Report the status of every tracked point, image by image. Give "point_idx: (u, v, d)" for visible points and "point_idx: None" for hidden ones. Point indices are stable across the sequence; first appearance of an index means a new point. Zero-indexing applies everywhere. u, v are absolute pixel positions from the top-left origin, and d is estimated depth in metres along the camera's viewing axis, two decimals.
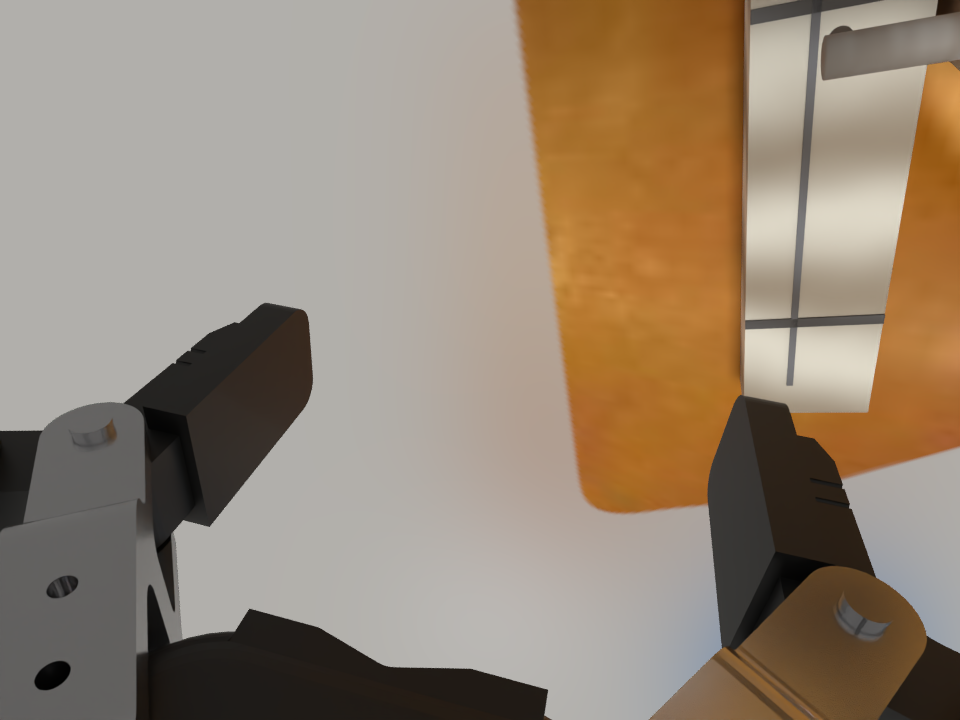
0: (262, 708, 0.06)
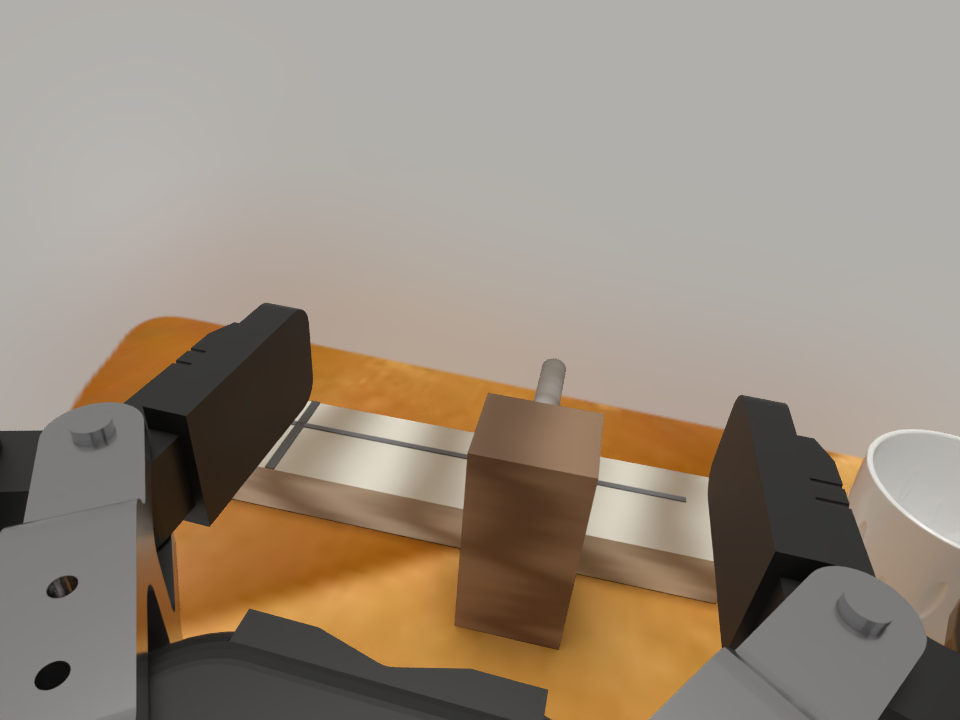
0: (262, 708, 0.06)
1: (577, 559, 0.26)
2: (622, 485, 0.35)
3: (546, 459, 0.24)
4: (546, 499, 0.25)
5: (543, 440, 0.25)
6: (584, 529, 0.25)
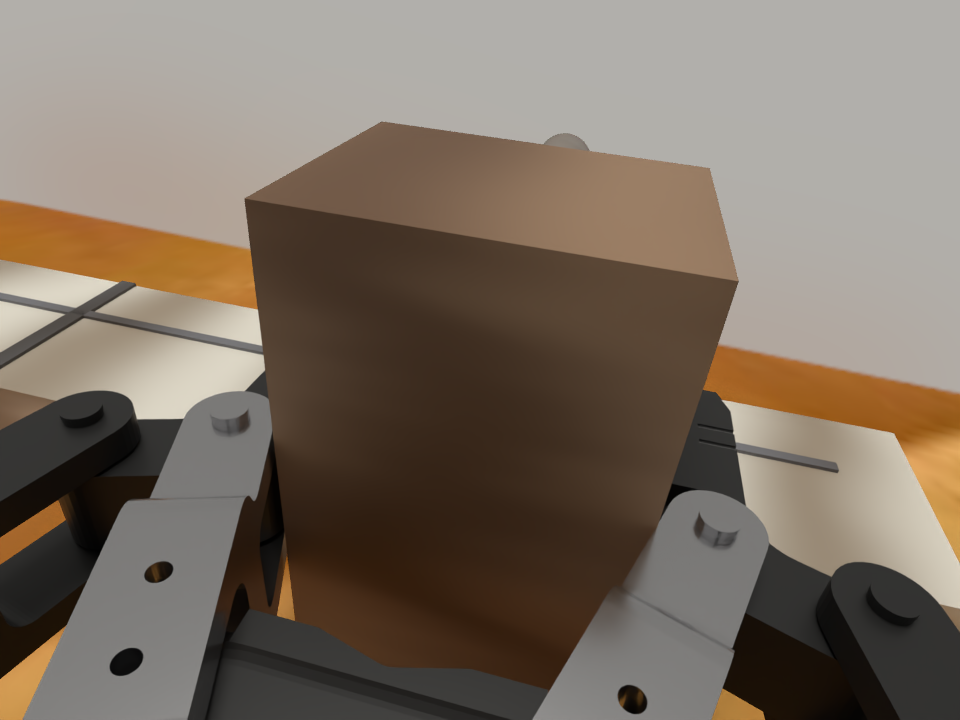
0: (262, 708, 0.06)
1: None
2: None
3: (532, 228, 0.07)
4: (530, 382, 0.07)
5: (524, 193, 0.08)
6: (659, 497, 0.07)
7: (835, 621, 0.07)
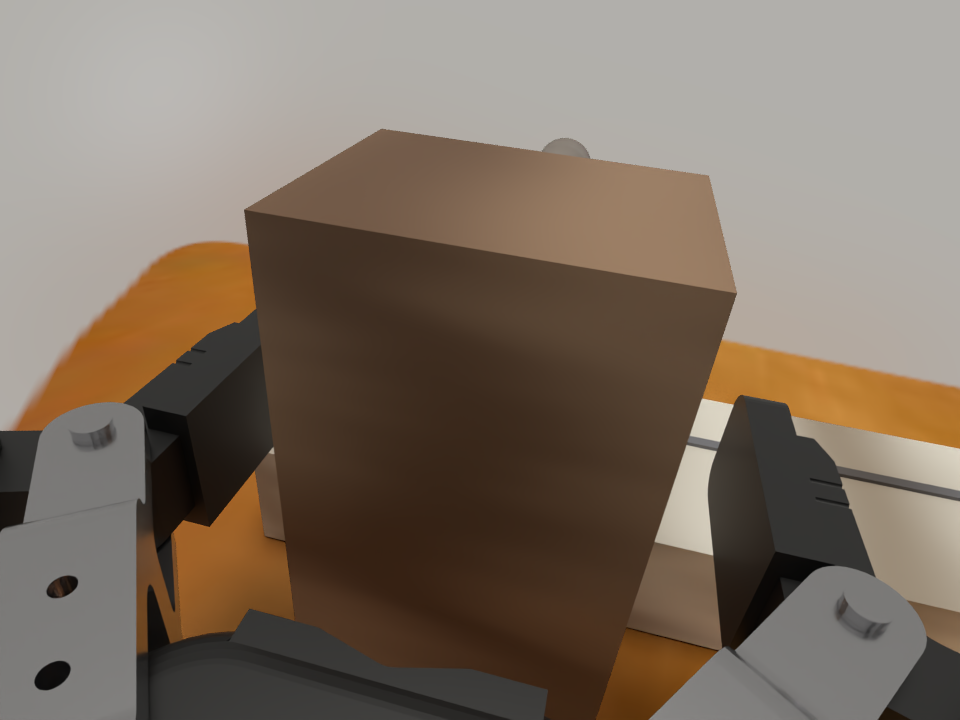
0: (262, 708, 0.06)
1: (626, 604, 0.08)
2: None
3: (532, 238, 0.07)
4: (530, 392, 0.07)
5: (524, 203, 0.08)
6: (658, 506, 0.07)
7: None
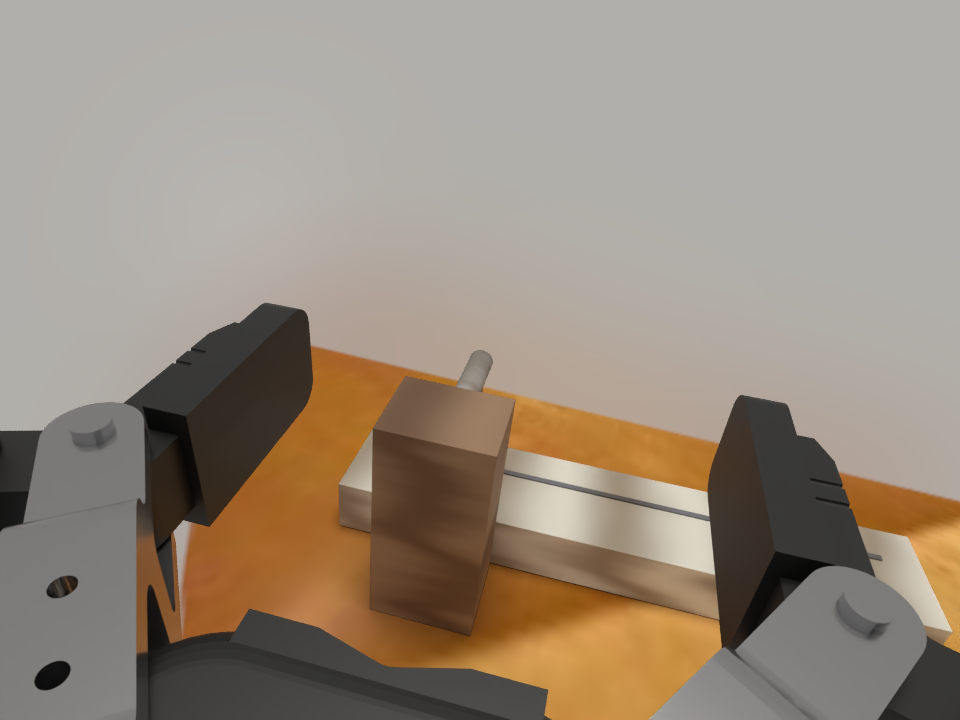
0: (262, 708, 0.06)
1: (482, 540, 0.27)
2: None
3: (449, 437, 0.25)
4: (449, 477, 0.25)
5: (449, 420, 0.26)
6: (487, 509, 0.26)
7: None
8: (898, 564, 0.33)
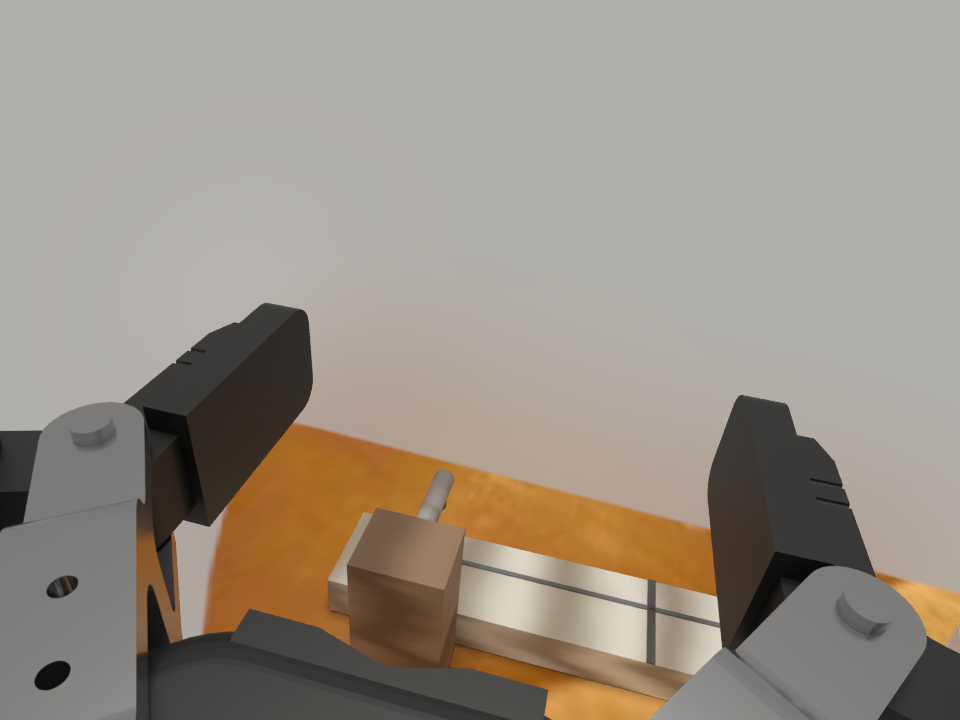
0: (262, 708, 0.06)
1: (438, 646, 0.33)
2: None
3: (407, 571, 0.31)
4: (408, 601, 0.32)
5: (409, 553, 0.32)
6: (440, 625, 0.32)
7: None
8: None
